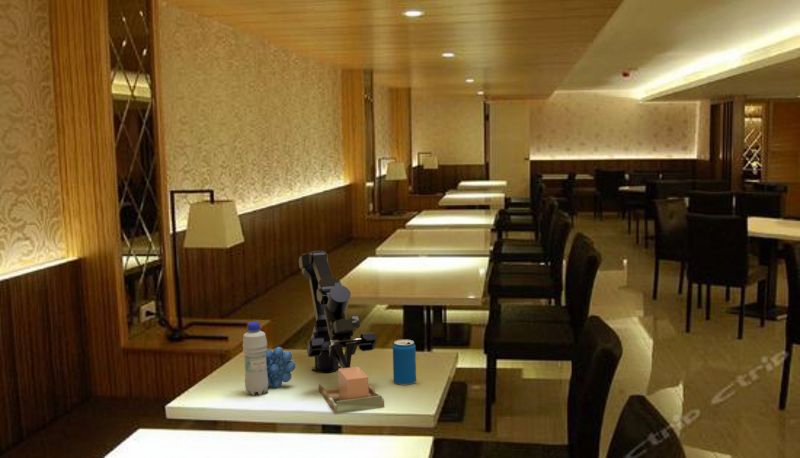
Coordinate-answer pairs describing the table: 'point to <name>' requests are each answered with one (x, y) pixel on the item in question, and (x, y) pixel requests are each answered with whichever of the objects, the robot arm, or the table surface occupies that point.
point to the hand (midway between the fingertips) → (348, 371)
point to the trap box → (351, 400)
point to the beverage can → (404, 362)
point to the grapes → (279, 366)
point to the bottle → (255, 359)
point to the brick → (352, 383)
